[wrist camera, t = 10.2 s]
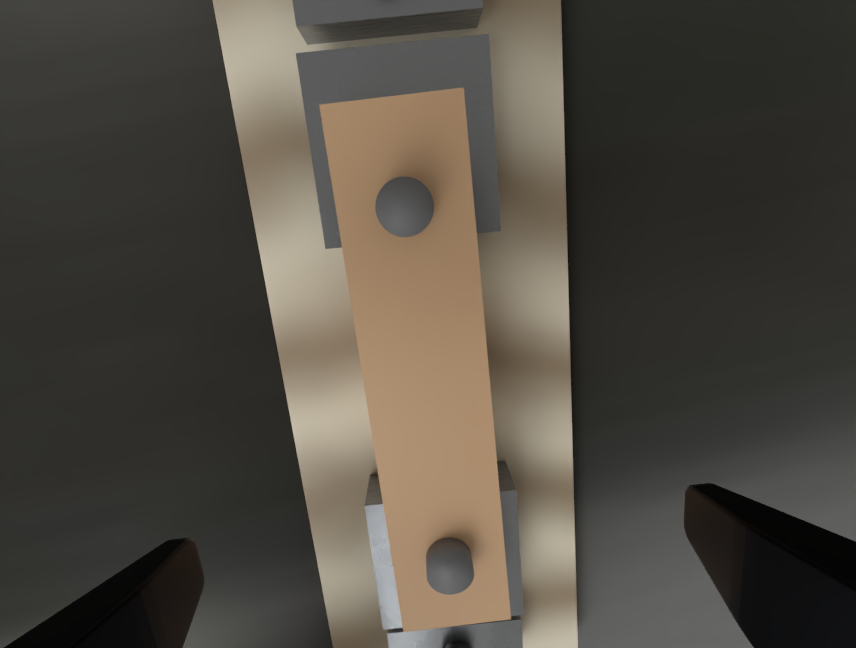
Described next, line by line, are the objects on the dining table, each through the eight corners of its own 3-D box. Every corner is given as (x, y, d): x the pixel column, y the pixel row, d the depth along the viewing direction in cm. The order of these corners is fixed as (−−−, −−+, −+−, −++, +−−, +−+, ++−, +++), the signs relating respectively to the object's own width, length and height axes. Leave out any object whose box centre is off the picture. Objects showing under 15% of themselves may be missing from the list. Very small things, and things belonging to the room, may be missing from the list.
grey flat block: (490, 229, 17) (501, 231, 15) (336, 245, 17) (324, 249, 15) (470, -72, 15) (480, -125, 13) (293, -55, 15) (271, -104, 13)
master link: (493, 545, 20) (516, 639, 15) (405, 555, 20) (402, 652, 15) (452, 118, 16) (466, 78, 11) (341, 132, 16) (312, 96, 11)
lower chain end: (517, 641, 22) (528, 690, 19) (396, 654, 22) (394, 705, 19) (505, 460, 19) (516, 491, 17) (369, 474, 19) (364, 507, 17)
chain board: (571, 633, 23) (577, 651, 22) (341, 657, 23) (338, 677, 22) (548, -96, 16) (557, -117, 15) (211, -62, 16) (197, -81, 15)
